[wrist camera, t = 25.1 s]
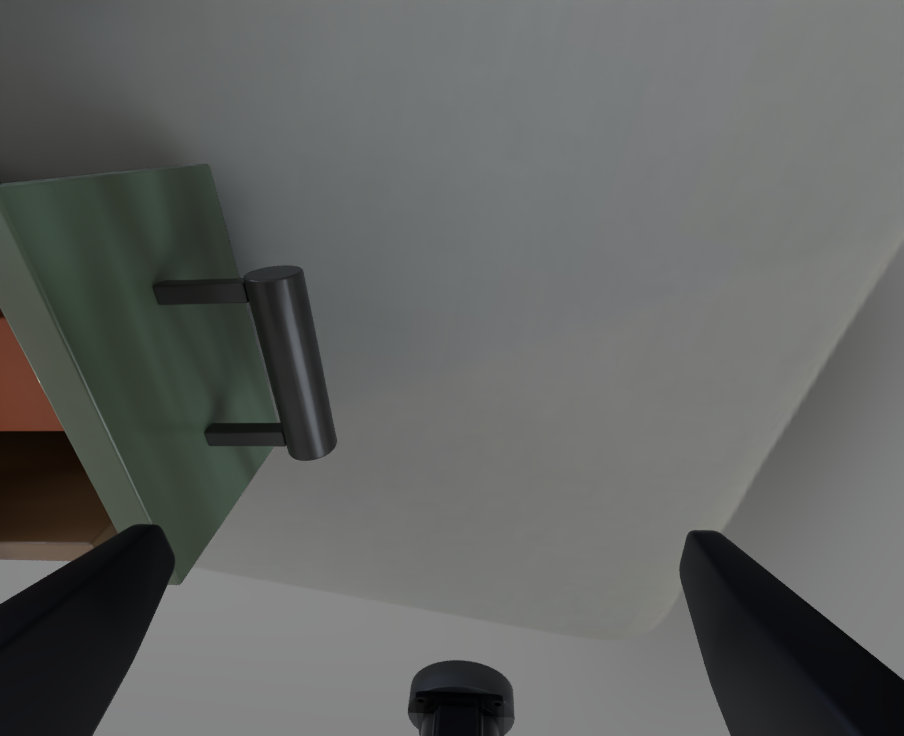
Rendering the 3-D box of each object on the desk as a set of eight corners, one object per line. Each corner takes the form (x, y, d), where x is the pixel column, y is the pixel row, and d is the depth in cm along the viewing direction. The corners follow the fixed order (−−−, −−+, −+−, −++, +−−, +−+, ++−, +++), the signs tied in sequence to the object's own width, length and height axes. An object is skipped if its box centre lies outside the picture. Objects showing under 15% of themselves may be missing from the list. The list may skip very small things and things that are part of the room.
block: (175, 374, 18) (100, 432, 15) (82, 375, 19) (-12, 432, 15) (138, 277, 17) (45, 316, 13) (37, 280, 17) (-82, 319, 13)
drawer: (332, 157, 15) (205, 176, 8) (374, 436, 21) (317, 590, 14) (-116, 179, 17) (-542, 213, 10) (29, 436, 22) (-182, 576, 15)
